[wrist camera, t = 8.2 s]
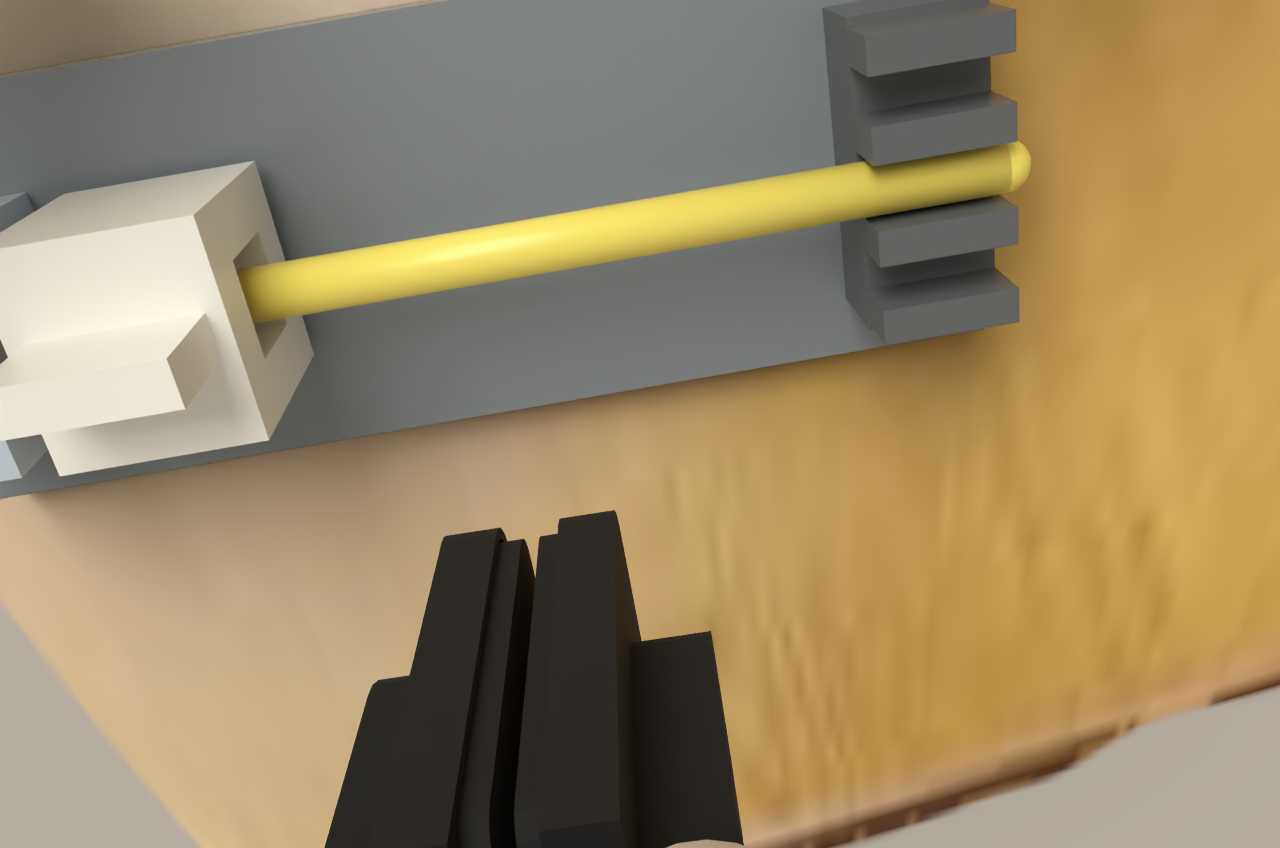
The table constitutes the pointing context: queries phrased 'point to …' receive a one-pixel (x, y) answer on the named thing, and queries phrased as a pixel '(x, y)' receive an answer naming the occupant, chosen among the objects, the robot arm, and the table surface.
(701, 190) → the fibre cord
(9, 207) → the connector
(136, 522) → the table surface
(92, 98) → the board
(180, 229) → the sleeve
